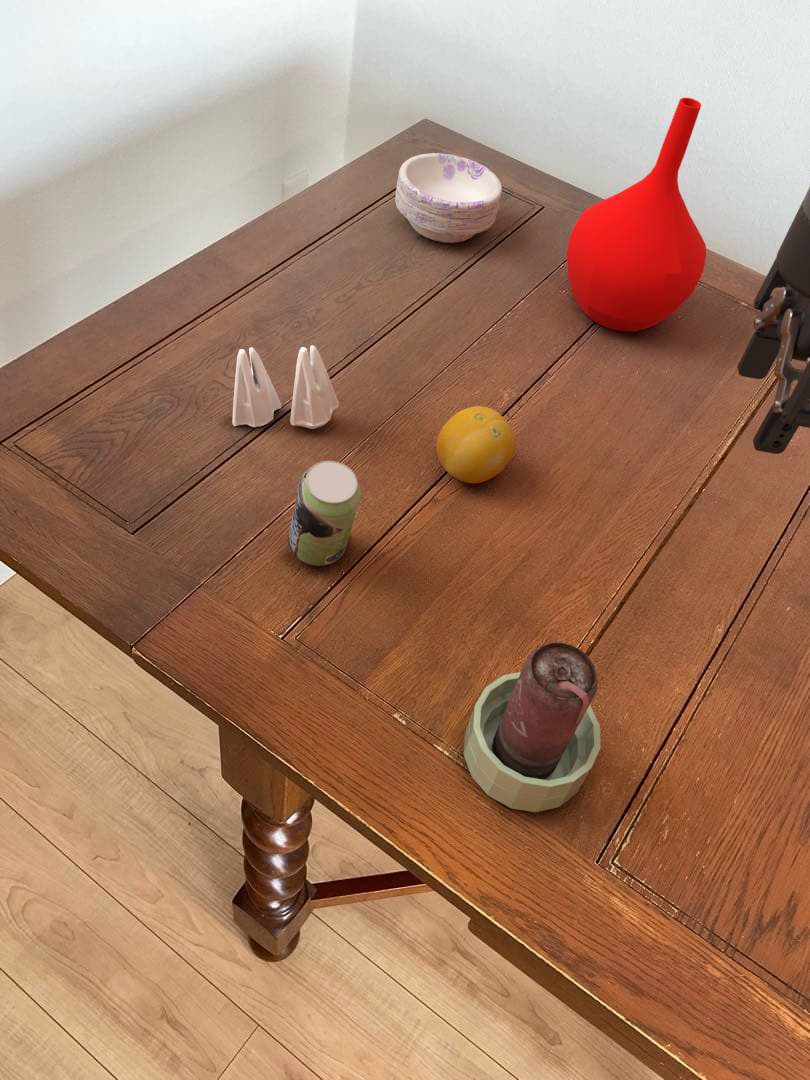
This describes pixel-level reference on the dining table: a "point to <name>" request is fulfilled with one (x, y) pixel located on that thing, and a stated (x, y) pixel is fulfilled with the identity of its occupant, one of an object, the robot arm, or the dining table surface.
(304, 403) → the shaker set
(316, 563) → the beverage can
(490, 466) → the fruit
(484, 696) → the sage bowl
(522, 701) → the can
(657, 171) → the vase
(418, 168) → the paper bowls
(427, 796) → the dining table surface
